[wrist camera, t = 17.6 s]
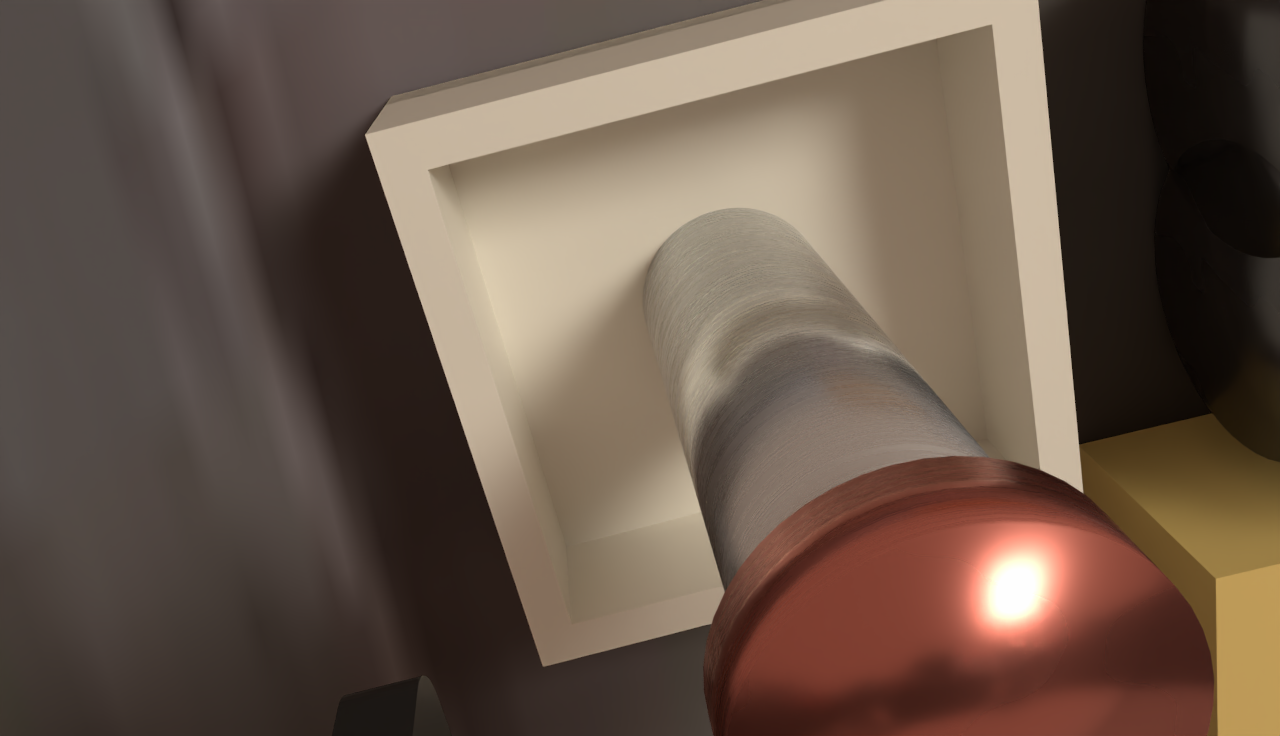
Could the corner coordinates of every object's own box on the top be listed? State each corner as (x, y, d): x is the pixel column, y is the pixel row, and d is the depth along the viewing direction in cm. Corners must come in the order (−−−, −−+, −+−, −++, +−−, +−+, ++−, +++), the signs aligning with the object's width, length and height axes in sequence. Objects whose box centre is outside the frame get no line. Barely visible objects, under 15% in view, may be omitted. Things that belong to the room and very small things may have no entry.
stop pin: (647, 428, 18) (778, 976, 9) (589, 217, 17) (673, 605, 7) (866, 371, 18) (1222, 858, 9) (826, 153, 17) (1204, 464, 7)
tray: (540, 559, 20) (543, 666, 17) (391, 96, 16) (365, 134, 14) (1007, 439, 20) (1086, 527, 17) (948, -48, 16) (1034, -38, 14)
